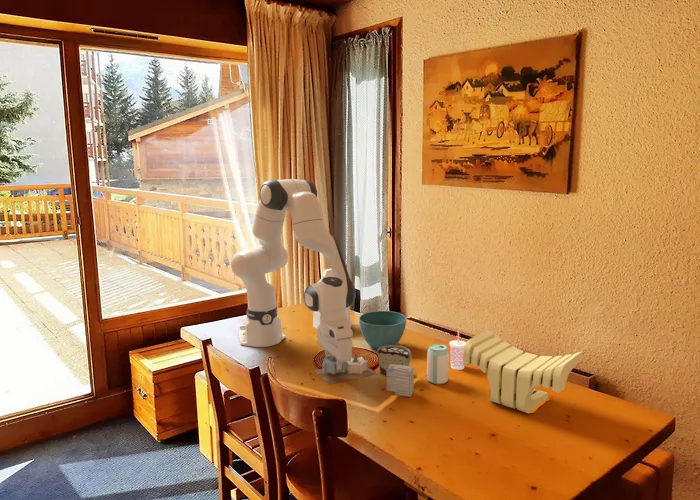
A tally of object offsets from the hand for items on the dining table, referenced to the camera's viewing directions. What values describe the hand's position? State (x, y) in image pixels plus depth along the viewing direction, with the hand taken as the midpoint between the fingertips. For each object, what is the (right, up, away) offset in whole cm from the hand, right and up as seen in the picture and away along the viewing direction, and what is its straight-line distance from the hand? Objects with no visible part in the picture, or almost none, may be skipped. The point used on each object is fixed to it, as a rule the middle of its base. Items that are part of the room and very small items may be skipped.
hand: (333, 364), depth 184 cm
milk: (-3, +5, +53) cm, 53 cm away
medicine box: (+21, -7, -11) cm, 25 cm away
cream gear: (+7, -3, +4) cm, 9 cm away
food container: (+21, -4, +2) cm, 22 cm away
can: (+35, -5, -2) cm, 35 cm away
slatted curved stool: (+57, -8, -18) cm, 60 cm away
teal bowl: (+18, +1, +28) cm, 33 cm away
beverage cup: (+44, -3, +9) cm, 45 cm away
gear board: (+4, -4, +3) cm, 6 cm away
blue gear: (0, -2, 0) cm, 2 cm away
